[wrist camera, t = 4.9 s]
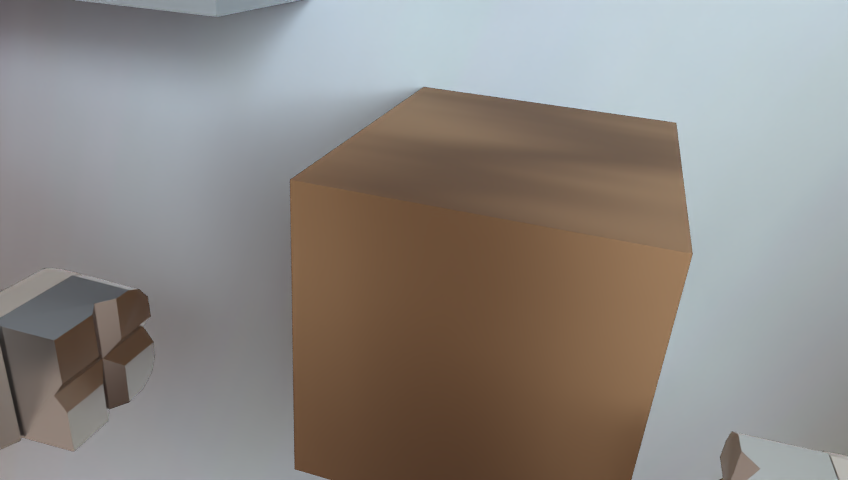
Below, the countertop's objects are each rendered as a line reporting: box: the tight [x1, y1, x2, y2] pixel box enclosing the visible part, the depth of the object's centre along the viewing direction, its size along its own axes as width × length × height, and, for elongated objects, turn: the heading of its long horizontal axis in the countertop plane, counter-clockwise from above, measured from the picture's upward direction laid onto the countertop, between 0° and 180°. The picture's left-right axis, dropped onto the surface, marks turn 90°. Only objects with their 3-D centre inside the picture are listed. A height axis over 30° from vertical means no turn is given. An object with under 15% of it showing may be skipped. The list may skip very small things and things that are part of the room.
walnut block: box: [290, 87, 693, 480], centre depth 12 cm, size 5×5×6 cm
